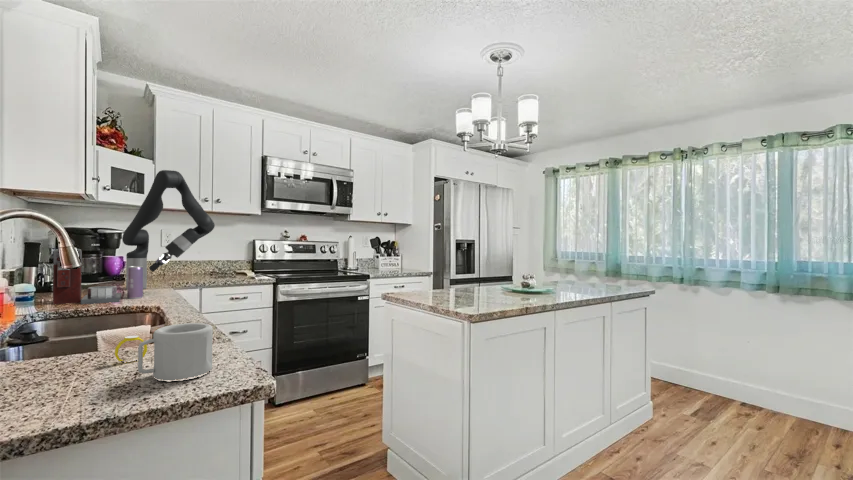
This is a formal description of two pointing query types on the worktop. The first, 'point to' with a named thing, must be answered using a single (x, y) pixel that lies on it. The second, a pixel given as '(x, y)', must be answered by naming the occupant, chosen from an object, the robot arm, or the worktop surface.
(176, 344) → the mug
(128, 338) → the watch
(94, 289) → the transparent rectangular container
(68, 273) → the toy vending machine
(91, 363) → the worktop surface
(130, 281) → the beverage can
